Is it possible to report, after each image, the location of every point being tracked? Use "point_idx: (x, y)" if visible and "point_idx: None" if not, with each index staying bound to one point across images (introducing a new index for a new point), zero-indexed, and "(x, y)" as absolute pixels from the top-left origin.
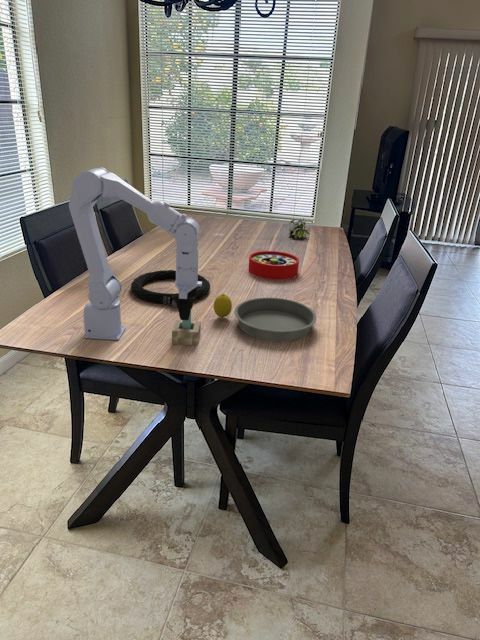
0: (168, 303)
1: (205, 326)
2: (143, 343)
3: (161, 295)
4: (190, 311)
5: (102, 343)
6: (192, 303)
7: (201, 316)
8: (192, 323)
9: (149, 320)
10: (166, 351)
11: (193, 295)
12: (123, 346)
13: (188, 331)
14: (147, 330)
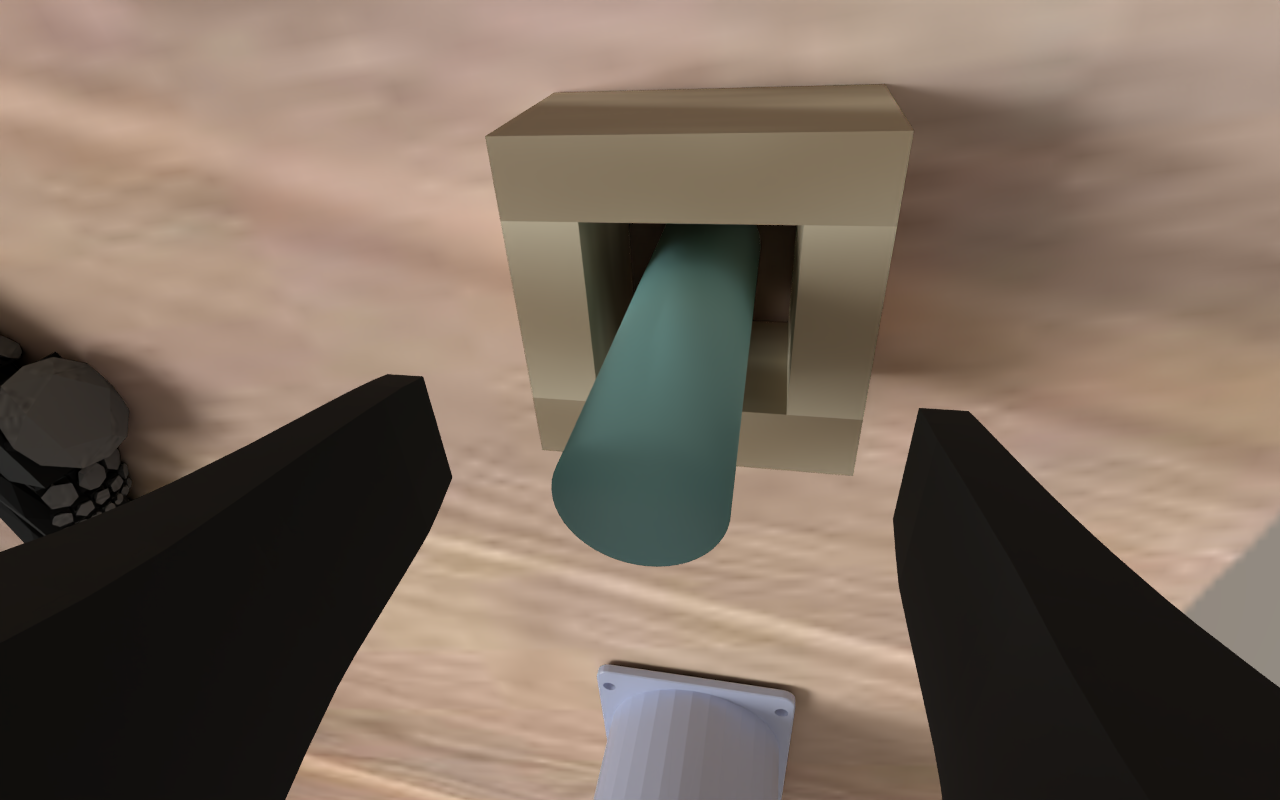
0: (108, 466)
1: (327, 53)
2: (832, 570)
3: None
4: (679, 426)
5: (837, 744)
6: (358, 432)
7: (119, 143)
8: (580, 253)
9: (431, 551)
10: (1010, 409)
11: (204, 557)
12: (884, 666)
13: (874, 284)
14: (599, 556)
